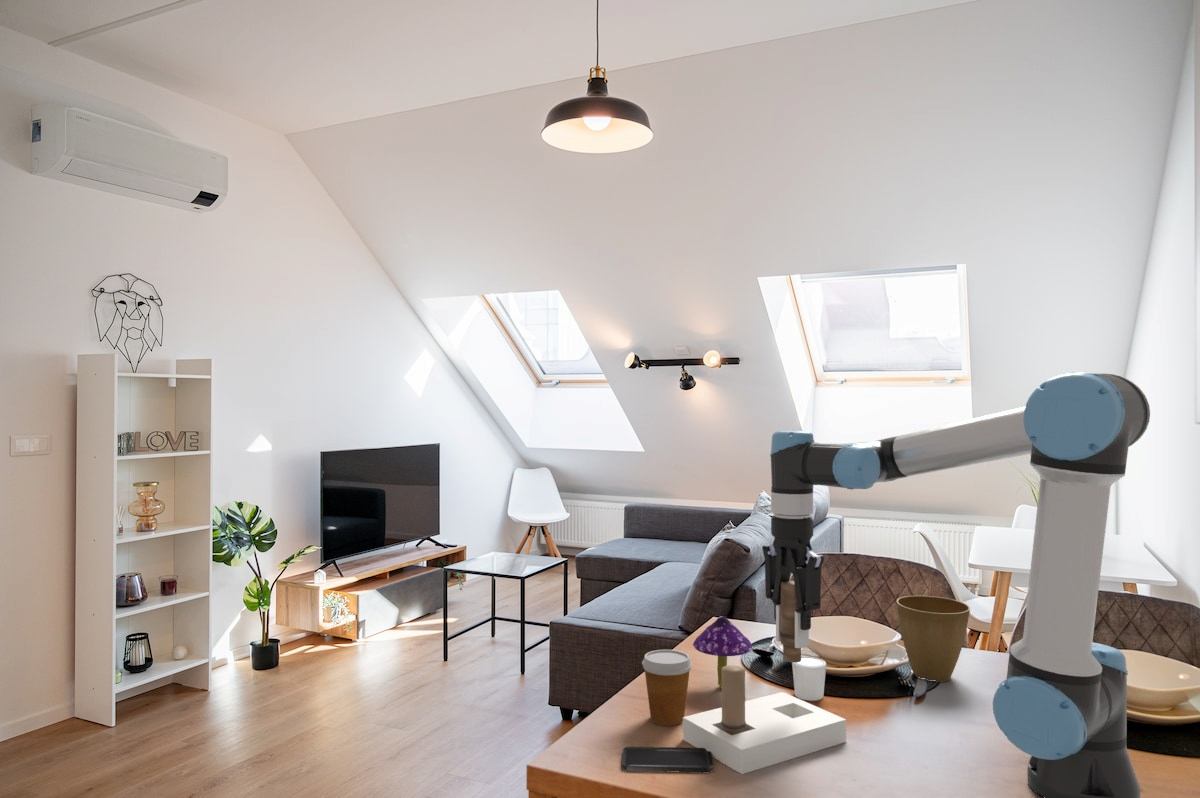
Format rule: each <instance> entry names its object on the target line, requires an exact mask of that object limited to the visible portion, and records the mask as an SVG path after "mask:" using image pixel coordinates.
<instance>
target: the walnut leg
mask: <svg viewBox="0 0 1200 798" xmlns="http://www.w3.org/2000/svg"><path fill="white" fill-rule="evenodd" d="M795 609H798V604H797V597H796V590H795V584H794V580H790V581H782V582H781V632H780V636H781V641H780V644H782V659H783V661H785V662H787V663H792V662H800V661H801V657H802V648H795Z"/></svg>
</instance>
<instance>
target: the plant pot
mask: <svg viewBox="0 0 1200 798" xmlns="http://www.w3.org/2000/svg"><path fill="white" fill-rule="evenodd" d="M896 609H897V617H898V623H899V628H900V633H901V638H902V641H903V645H904V649H905V653H906V655H907V658H908V662H909V665H910V667H911V670H912V673H913V675H914V674H915V675H916V676H917V677H920V678H925V679H928V680H936V681H940V682H939V683H943V682H947V681H949V680H950V679H951V677H952V676H953V675H952V674H954V671H955V668H956V665H957V662H958V660H959V657H960V656H961V655H960V654H961V651H962V648H963V644H964V641H965V637H966V634H967V628H968V623H969V618H970V614H971V613H970V611H971V607H970V606H969V604H967V603H966V602H962V601H960V600H956V599H951V598H949V597H947V598H946V597H940V596H932V595H906V596H901V597H898V598H897V599H896ZM915 675H914V676H915ZM916 676H915V677H916ZM917 677H916V678H917ZM920 678H919V679H920Z"/></svg>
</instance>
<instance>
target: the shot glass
mask: <svg viewBox="0 0 1200 798" xmlns="http://www.w3.org/2000/svg"><path fill="white" fill-rule="evenodd" d="M791 666H792V667H791V669H792V675H793V676H792V678H793V687H794V696H795V697H796V698H798V699H800V700H802V701H814V702H815V701H820V700H822V699H824V696H825V695H824V693H825V681H826V671H827V670H826V669H827V662H826V661H825V660H823V659H822V658H818V657H812V656H801V661H800V662H791Z"/></svg>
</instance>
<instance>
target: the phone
mask: <svg viewBox="0 0 1200 798" xmlns="http://www.w3.org/2000/svg"><path fill="white" fill-rule="evenodd" d="M622 752H623V753H622V759H621V760H622V761H621V762H622V763H621V766H622V767H621V768H622V770H623V771H625V770H626V771H627V772H648V771H663V772H662V773H668V772H667V771H670V772H669V773H672V772H671V771H679V772H678V773H691V772H701V774H704V773H703V772H710V773H712V772H713V771H714V762H713V757H712V755H711V752H710V751H707V750H706V749H705V748H696V747H678V746H677V747H672V746H670V747H668V746H667V747H666V746H625V747H624V748H623V750H622ZM626 771H625V772H626ZM711 771H712V772H711Z"/></svg>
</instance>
